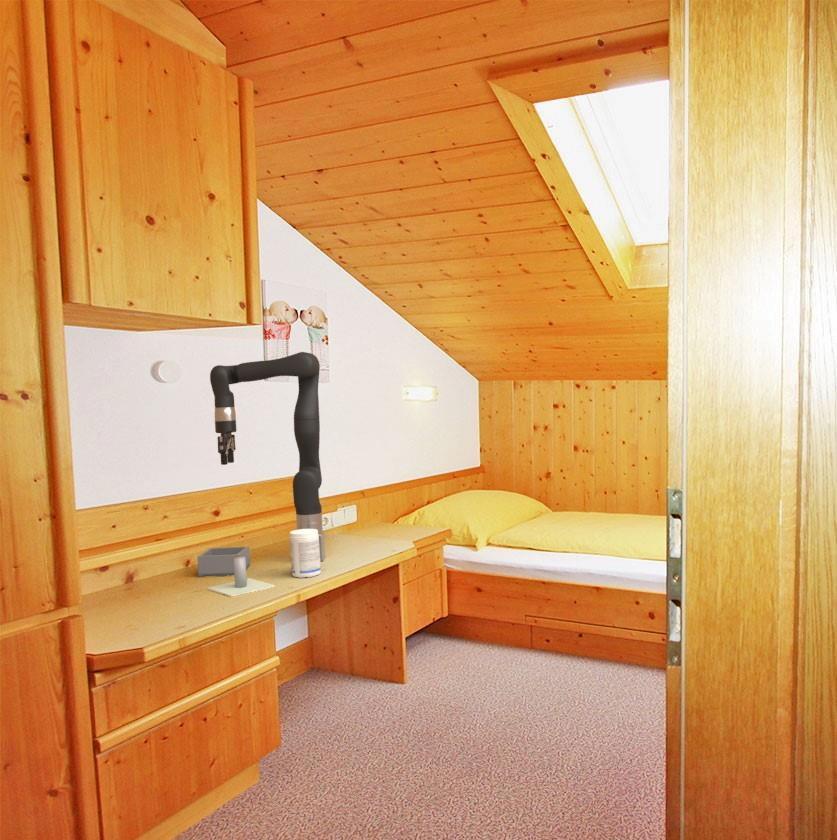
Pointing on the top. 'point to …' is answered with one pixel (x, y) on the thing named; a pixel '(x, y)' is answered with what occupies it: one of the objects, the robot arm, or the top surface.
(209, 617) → the top surface
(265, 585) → the lid
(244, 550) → the parts box
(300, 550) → the supplement tub
